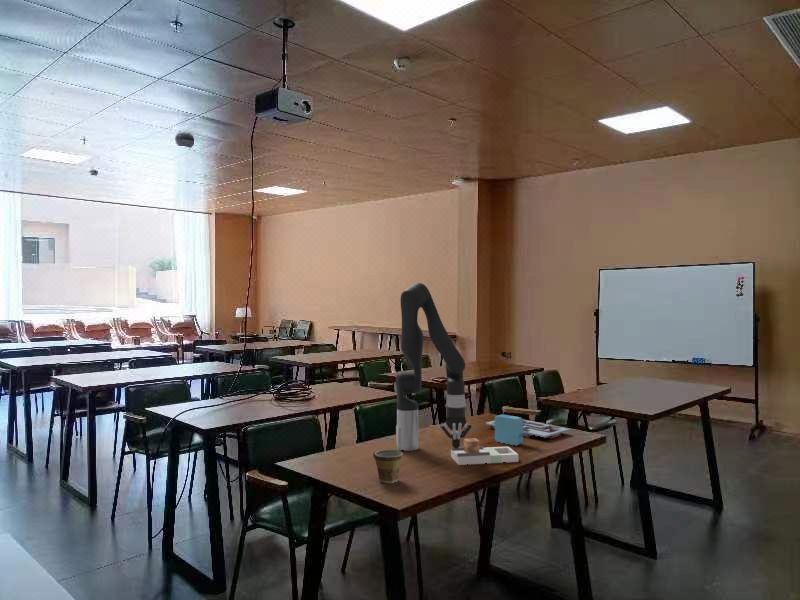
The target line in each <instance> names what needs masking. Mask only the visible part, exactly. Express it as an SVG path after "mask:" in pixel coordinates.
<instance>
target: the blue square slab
mask: <svg viewBox="0 0 800 600" xmlns="http://www.w3.org/2000/svg"><path fill="white" fill-rule="evenodd" d="M522 419H523V418H522V417H521V416H520V417H519V416H514V415H509V414H498V415H496V416H495V417H494V421H495V430H494V440H495V442H496V443H498V442H500V443H499V444H503V443H505V444H504V445H508V444H510V445H509V446H513V445H515V447H516V446H519V445H521V444H522V445H523V443H524V437H523V420H524V419H523V420H522Z"/></svg>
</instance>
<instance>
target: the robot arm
mask: <svg viewBox="0 0 800 600" xmlns="http://www.w3.org/2000/svg"><path fill="white" fill-rule="evenodd" d="M400 294H401V295H400V313H401V333H400V334H401V335H400V350H401V352H402V354H403V355H404V356H405V358H406V359H407V361H408V362H409V363H410V365H411V367H412V369H413V371H398V372H397V373H396V377H395V379H396V380H395V381H396V382H395V383H396V384H395V386H396V425H395V434H396V436H395V441H396V442H395V445H396V446H395V447H396V450H398V451H401V450H404V451H403V452H413V450H414V451H418V450H419V403H418V402H417V401H416V400H414V399H410V398H408V397H407V396H405V394H417V393H420V392H421V390H422V381H423V380H422V373H423V372H422V360H423V350H424V349H423V347H424V333H423V331H422V328H421V327H420V325H419V323H418V315H419V309H420V308H421V309H422V310H423V311H422V312H423V313H424V315H425V318H426V323H427V329H428V334H429V338H430V340H431V341H432V344H433V345H434V347H435V348H436V350H437V352H438V354H440V355H441V357H442V359H443V361H444V363H445V373H446V374H445V375H446V379H447V382H446V399H445V400H446V402H445V405H446V407H445V408H446V411H445V412H446V414H445V415H446V418H445V422H444V423H442V424H441V425H439V426H440V427H439V428H441V430H442V431H443V433H444V434H445V435H446V436H447V437H448V438H449V439H451V445H452V447H454V449H458V447H461V444H460V443H461V439H462V438H463V439H465V437H466V436H467V434H468V433H469V431H470V430H471V428H472V425H471V424H470V423H468V422H467V419H466V397H465V396H466V395H465V381H464V378H463V377H464V375H463V374H464V371H465V368H466V362H465V359H464V357H463V355H461V353H460V351H459V350H458V349H457V347H456V346H455V344H454V342H453V339H452V338H451V336H450V335H449V332H448V331H447V330H446V328H445V326H444V324H443V322H442V320H441V316H440V314H439V312H438V309H437V307H436V305H435V301H434V299H433V297H432V294H431V292H430V290H429V288H428V287H427V286H426V285H425V284H424V283H422V282H415V283H414V284H411V286H409V287H406V288H405V289H404V290H403V291H402V293H400ZM448 429H449V430H450V431H451V433H450V432H449V431H448Z"/></svg>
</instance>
